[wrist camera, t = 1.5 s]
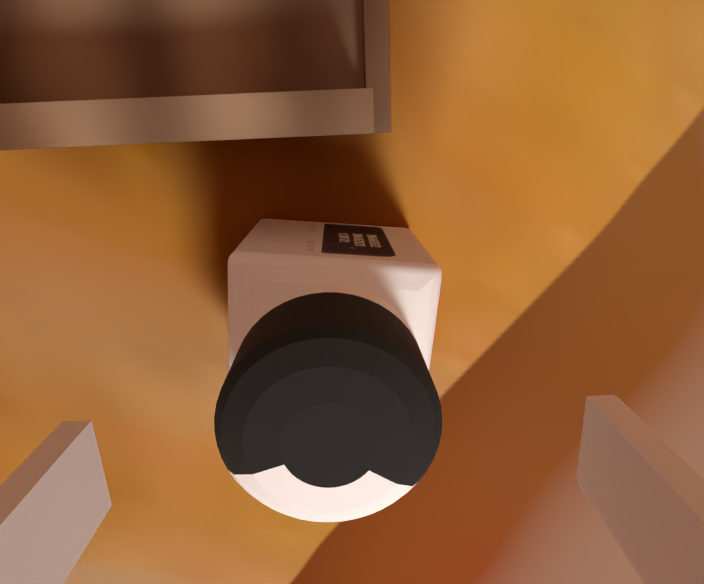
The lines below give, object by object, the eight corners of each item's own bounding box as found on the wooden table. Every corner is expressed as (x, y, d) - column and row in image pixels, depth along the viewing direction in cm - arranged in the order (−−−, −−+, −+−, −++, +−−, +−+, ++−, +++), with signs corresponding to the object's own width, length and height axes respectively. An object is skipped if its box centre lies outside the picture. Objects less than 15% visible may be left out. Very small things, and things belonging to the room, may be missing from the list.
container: (258, 216, 24) (179, 304, 12) (412, 226, 25) (491, 322, 12) (256, 357, 27) (188, 553, 14) (396, 364, 27) (450, 561, 15)
